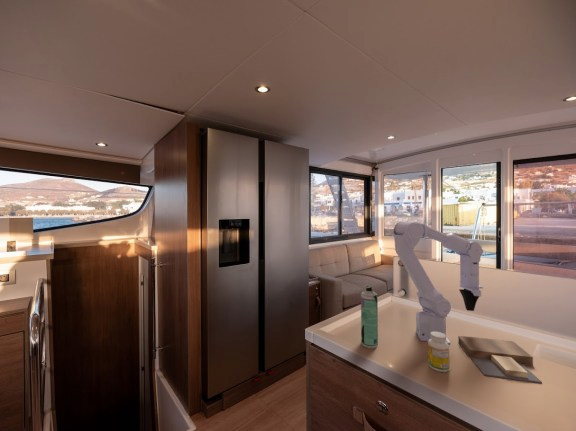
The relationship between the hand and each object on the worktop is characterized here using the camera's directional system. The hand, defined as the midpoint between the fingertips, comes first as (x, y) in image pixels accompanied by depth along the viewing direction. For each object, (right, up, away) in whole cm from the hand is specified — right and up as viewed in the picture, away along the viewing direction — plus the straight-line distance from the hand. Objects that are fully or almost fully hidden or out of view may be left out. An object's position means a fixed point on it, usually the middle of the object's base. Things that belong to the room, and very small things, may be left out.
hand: (469, 310), depth 95 cm
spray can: (-39, -10, -6) cm, 41 cm away
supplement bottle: (-23, -10, -20) cm, 32 cm away
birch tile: (-4, -9, -21) cm, 23 cm away
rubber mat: (-6, -9, -21) cm, 24 cm away
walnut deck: (-2, -9, -12) cm, 16 cm away
